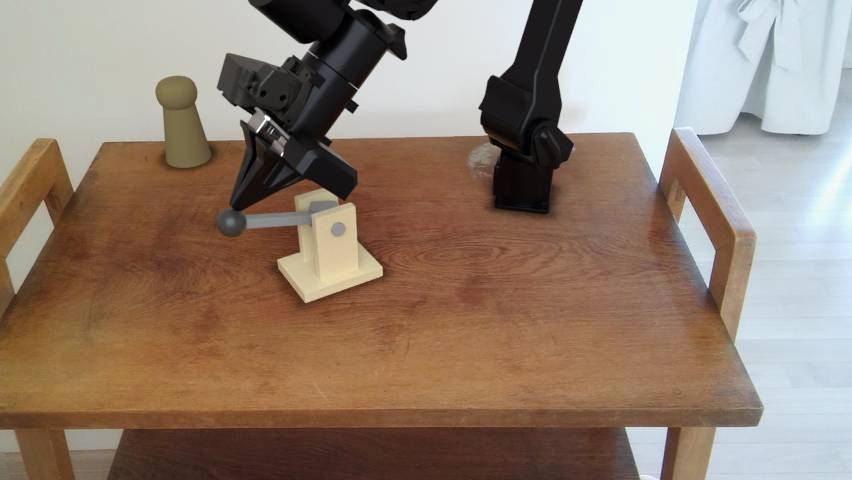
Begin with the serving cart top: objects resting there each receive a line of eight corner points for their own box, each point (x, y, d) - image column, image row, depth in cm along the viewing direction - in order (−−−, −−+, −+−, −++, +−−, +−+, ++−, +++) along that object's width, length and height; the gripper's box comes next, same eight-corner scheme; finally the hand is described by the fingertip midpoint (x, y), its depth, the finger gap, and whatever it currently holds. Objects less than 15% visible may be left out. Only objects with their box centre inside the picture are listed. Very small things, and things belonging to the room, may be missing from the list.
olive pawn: (216, 147, 106) (204, 70, 99) (204, 168, 101) (190, 89, 94) (174, 146, 106) (158, 69, 100) (159, 167, 101) (142, 88, 95)
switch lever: (221, 244, 71) (223, 217, 70) (211, 229, 73) (213, 203, 72) (341, 234, 78) (346, 209, 77) (329, 221, 80) (334, 197, 79)
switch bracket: (305, 303, 77) (297, 230, 72) (278, 268, 82) (269, 197, 77) (383, 276, 81) (381, 204, 76) (352, 244, 86) (348, 174, 81)
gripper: (228, -9, 70) (134, 128, 73) (315, 53, 57) (196, 219, 59) (312, 57, 78) (225, 180, 80) (406, 126, 65) (298, 270, 67)
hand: (233, 208), depth 72 cm, fingers closed, pressing on switch lever
